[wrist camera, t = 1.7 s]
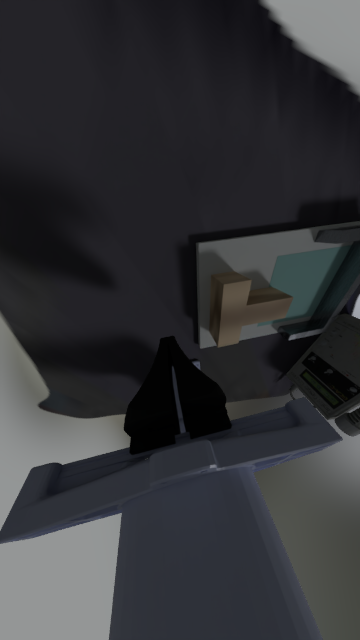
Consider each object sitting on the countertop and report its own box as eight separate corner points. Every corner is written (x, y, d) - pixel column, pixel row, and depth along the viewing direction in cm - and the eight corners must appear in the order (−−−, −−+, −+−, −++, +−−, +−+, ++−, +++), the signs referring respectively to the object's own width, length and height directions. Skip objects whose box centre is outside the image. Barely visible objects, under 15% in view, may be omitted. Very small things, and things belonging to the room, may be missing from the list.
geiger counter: (478, 377, 15) (321, 449, 28) (505, 373, 16) (343, 443, 29) (335, 313, 26) (272, 385, 39) (358, 313, 27) (290, 383, 41)
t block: (261, 321, 22) (277, 335, 19) (209, 331, 21) (218, 347, 18) (279, 264, 17) (304, 271, 14) (211, 274, 16) (223, 284, 13)
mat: (307, 322, 26) (313, 325, 25) (198, 344, 24) (200, 348, 23) (364, 220, 17) (376, 219, 16) (196, 242, 15) (198, 243, 14)
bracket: (312, 324, 25) (326, 332, 23) (277, 331, 24) (288, 340, 22) (371, 223, 16) (401, 222, 14) (319, 230, 16) (343, 230, 14)
